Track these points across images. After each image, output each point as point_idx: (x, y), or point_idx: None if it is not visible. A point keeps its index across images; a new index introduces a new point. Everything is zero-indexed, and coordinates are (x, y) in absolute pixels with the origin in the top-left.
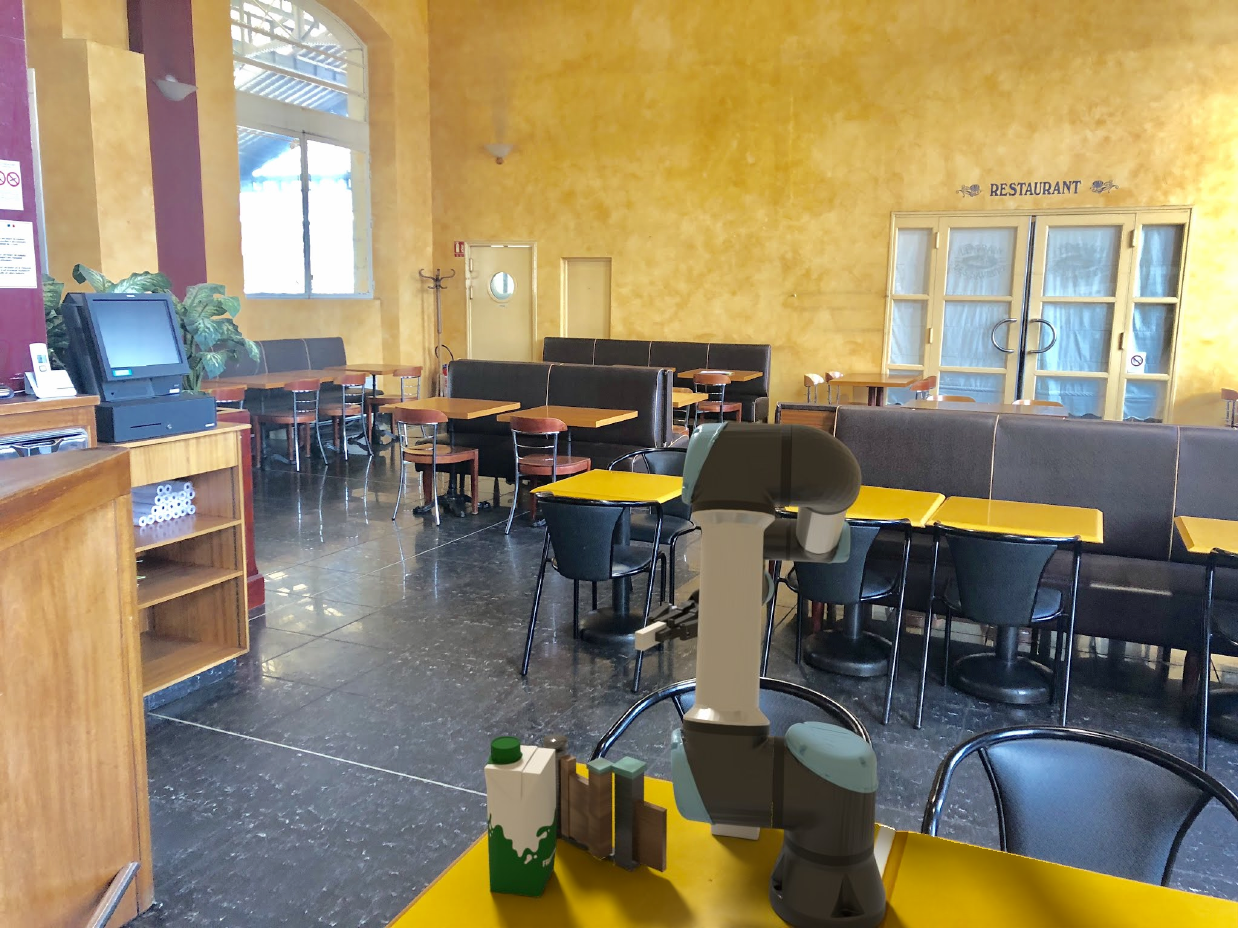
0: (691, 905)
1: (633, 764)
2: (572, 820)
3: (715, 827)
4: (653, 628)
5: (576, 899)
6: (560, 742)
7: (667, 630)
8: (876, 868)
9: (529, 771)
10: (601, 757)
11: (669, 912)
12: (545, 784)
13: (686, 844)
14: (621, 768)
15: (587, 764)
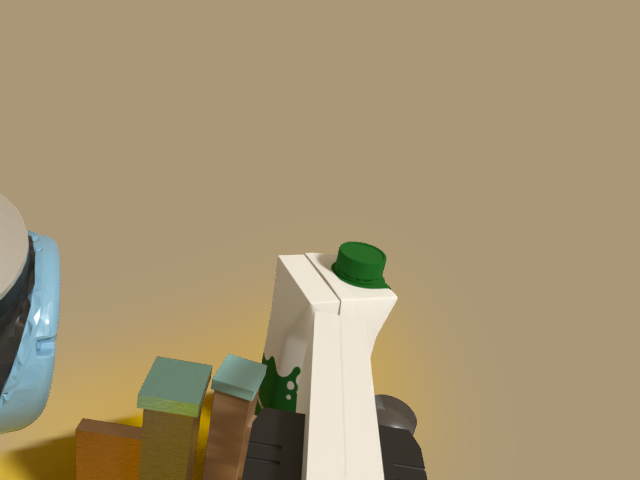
0: (15, 476)
1: (167, 381)
2: None
3: None
4: (318, 385)
5: (205, 427)
6: None
7: (248, 475)
8: None
9: (295, 256)
10: (252, 391)
11: (54, 449)
12: (275, 284)
13: None
14: (186, 362)
15: (263, 365)
